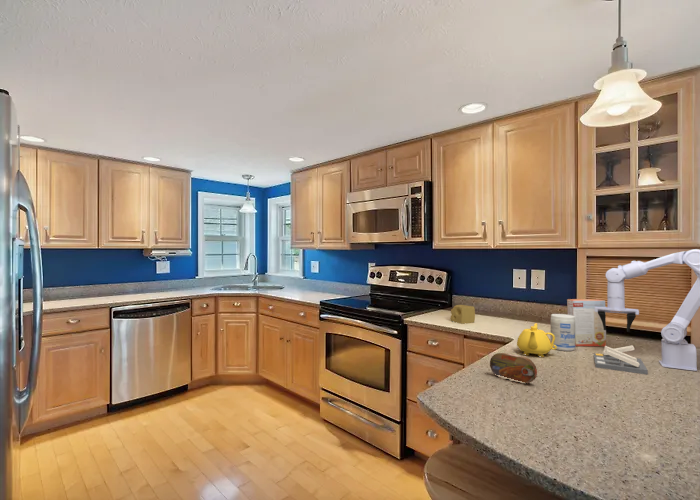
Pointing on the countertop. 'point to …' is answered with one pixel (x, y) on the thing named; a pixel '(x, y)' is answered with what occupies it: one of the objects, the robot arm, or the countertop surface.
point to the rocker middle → (620, 353)
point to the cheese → (463, 314)
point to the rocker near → (622, 358)
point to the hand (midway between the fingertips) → (616, 330)
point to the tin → (513, 367)
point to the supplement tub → (563, 331)
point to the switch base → (618, 364)
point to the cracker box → (587, 322)
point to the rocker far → (623, 349)
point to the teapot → (535, 341)
